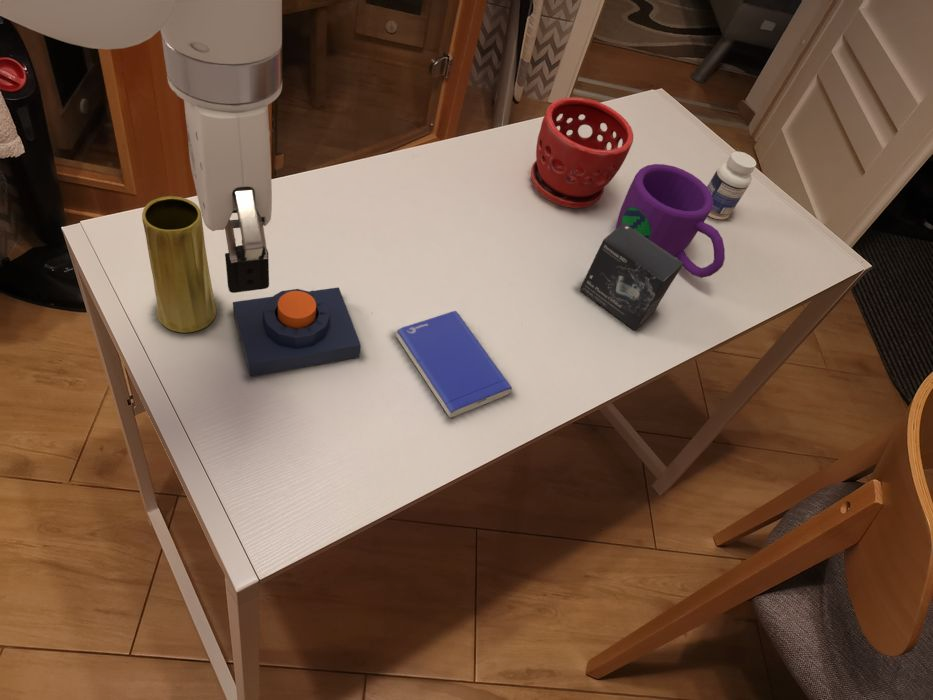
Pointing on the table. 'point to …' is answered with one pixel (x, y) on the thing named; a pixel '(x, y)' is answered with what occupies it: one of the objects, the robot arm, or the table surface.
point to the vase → (179, 264)
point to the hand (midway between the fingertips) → (238, 248)
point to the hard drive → (453, 363)
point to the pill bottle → (730, 184)
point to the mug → (672, 213)
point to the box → (630, 275)
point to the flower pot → (578, 152)
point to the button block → (295, 334)
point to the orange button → (296, 309)
